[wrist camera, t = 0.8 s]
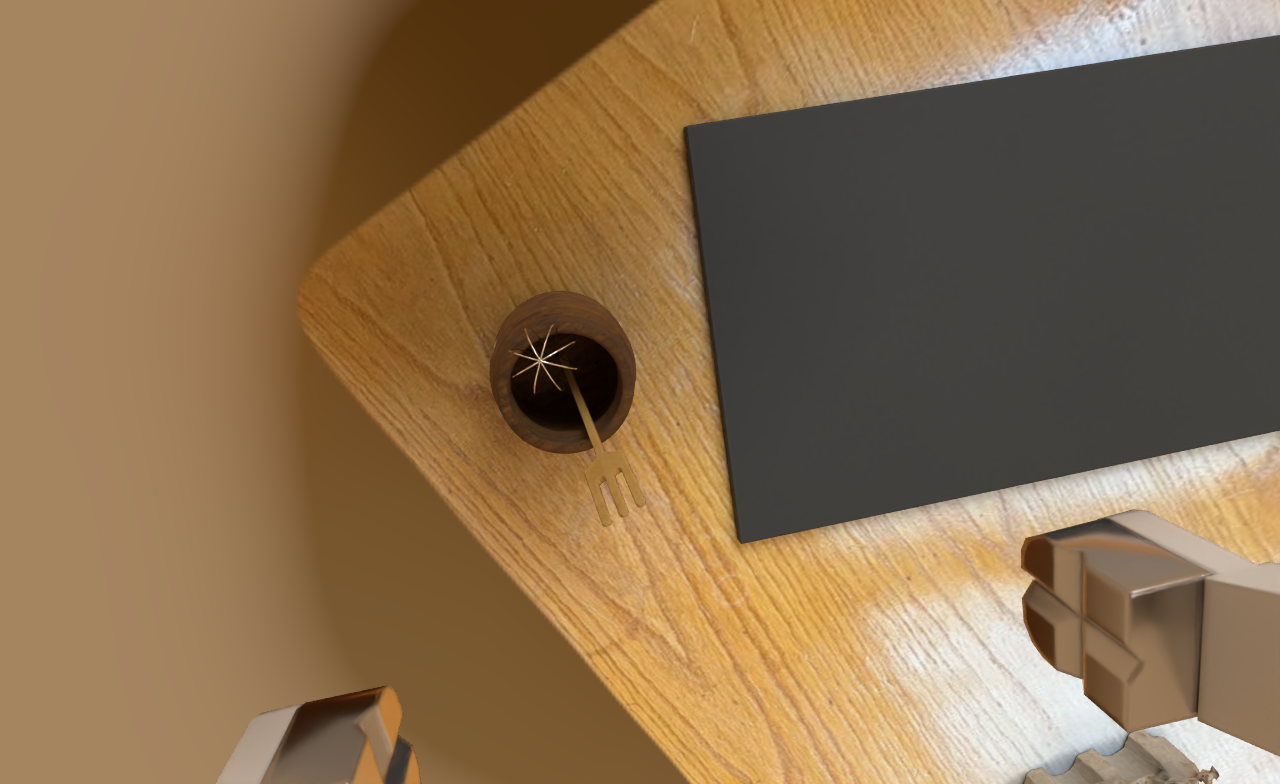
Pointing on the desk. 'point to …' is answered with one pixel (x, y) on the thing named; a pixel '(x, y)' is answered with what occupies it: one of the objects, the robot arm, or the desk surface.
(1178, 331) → the desk mat
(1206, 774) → the egg carton
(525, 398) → the utensil holder
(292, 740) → the robot arm
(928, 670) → the desk surface
